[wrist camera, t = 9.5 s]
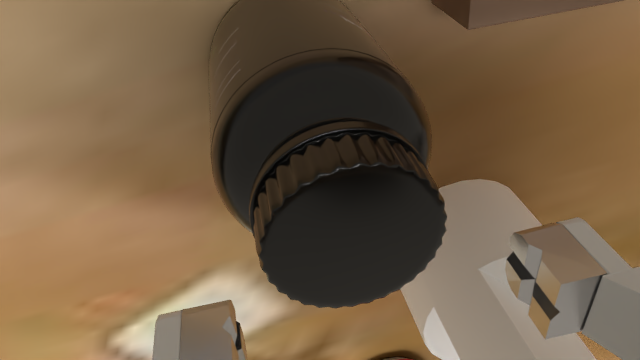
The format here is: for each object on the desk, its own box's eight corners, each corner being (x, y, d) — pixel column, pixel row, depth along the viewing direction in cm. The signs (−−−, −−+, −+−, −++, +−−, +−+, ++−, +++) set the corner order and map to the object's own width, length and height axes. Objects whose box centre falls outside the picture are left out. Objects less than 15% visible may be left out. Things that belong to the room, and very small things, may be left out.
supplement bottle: (381, -5, 20) (541, 142, 11) (339, 134, 24) (432, 334, 15) (216, -40, 18) (240, 104, 9) (198, 118, 22) (200, 339, 13)
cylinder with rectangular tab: (357, 258, 30) (435, 460, 20) (464, 154, 27) (614, 334, 17) (447, 301, 34) (544, 481, 25) (547, 216, 31) (701, 386, 22)
